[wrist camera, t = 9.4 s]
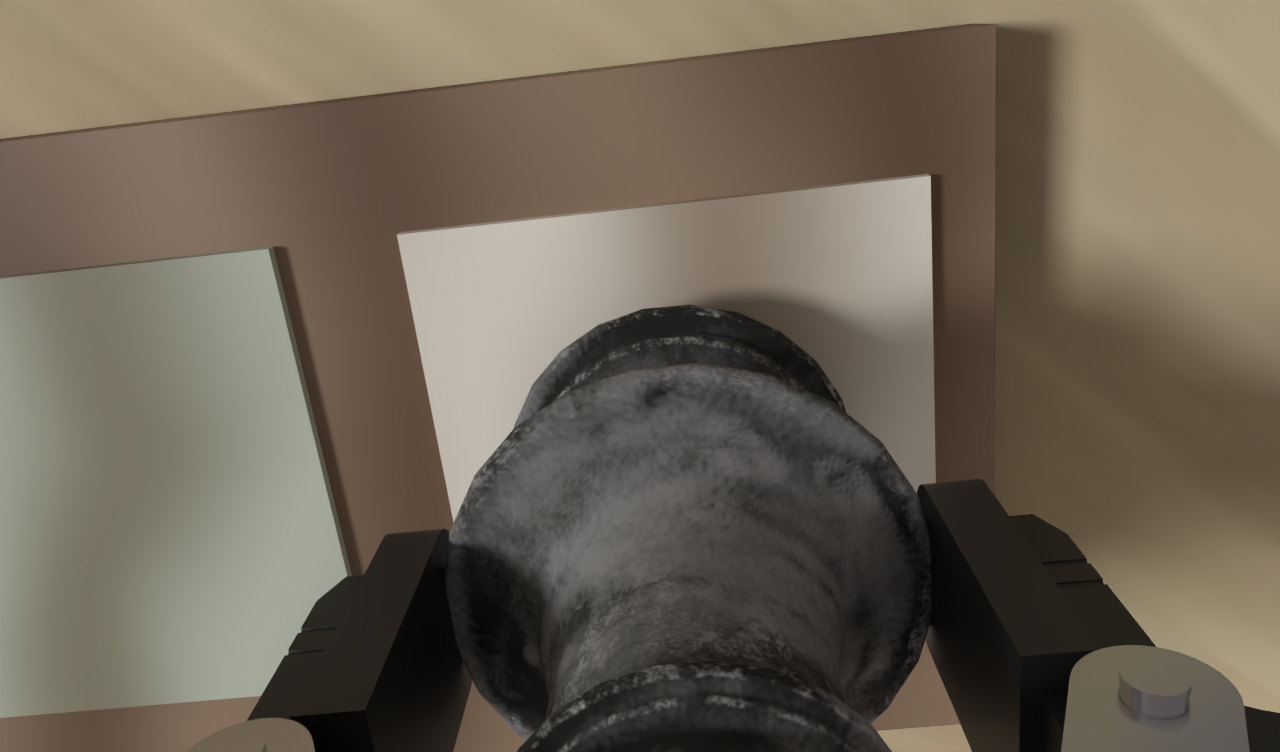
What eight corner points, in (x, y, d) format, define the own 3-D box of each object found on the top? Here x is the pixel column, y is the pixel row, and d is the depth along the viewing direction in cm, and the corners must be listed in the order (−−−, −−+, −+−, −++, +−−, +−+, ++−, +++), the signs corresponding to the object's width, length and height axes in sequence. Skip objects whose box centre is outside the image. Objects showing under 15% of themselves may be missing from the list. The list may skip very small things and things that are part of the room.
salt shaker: (935, 351, 15) (1911, 1514, 3) (797, 674, 16) (1105, 2108, 5) (546, 233, 14) (87, 1117, 3) (451, 580, 16) (-50, 1940, 5)
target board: (-20, 761, 20) (-67, 813, 19) (-263, 170, 16) (-343, 183, 15) (973, 680, 19) (996, 728, 18) (971, 23, 15) (1001, 24, 14)
